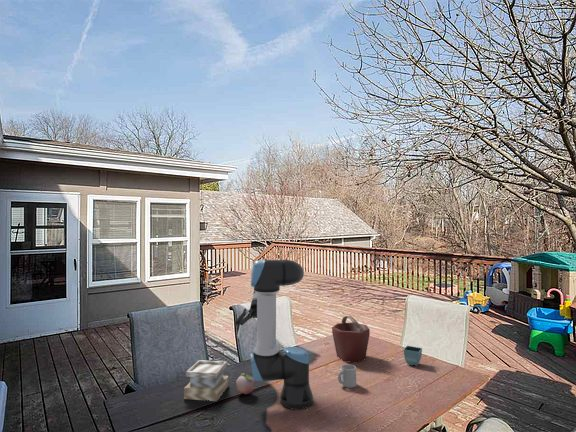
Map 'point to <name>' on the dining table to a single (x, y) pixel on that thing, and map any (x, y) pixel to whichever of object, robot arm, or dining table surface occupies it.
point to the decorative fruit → (245, 383)
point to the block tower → (206, 380)
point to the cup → (347, 376)
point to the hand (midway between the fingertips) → (251, 337)
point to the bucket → (351, 340)
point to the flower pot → (412, 355)
